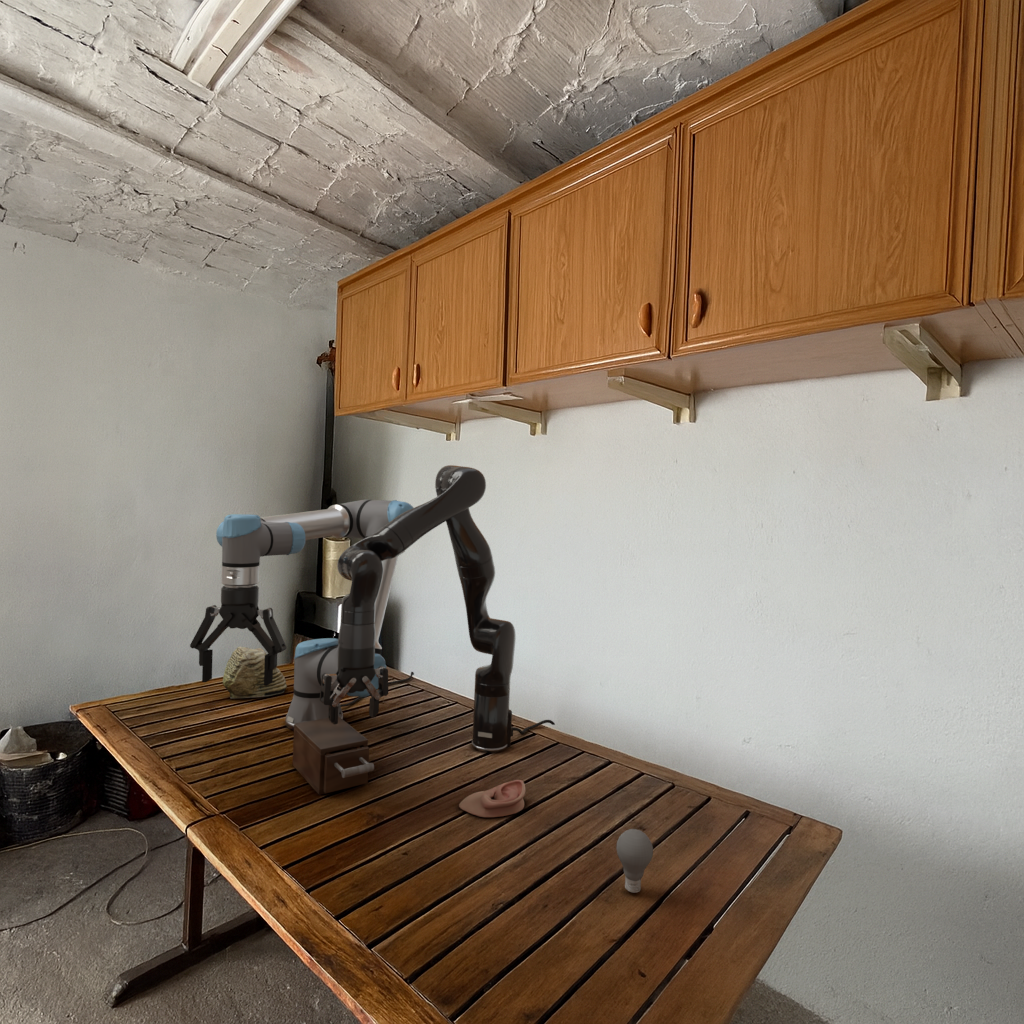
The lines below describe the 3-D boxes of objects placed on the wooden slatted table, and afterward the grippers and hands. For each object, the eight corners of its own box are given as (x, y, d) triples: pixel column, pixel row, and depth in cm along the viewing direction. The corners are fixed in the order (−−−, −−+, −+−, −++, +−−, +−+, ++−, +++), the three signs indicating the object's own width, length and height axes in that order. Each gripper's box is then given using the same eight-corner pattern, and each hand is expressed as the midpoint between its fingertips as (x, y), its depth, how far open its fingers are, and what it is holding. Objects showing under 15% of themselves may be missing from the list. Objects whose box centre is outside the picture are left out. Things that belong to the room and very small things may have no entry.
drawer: (379, 794, 134) (381, 757, 134) (336, 805, 128) (337, 767, 128) (339, 757, 152) (341, 724, 152) (300, 765, 146) (301, 732, 146)
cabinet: (366, 783, 141) (368, 739, 141) (318, 795, 134) (320, 749, 134) (336, 755, 155) (338, 715, 155) (292, 765, 149) (294, 723, 148)
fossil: (218, 695, 195) (220, 647, 195) (278, 685, 208) (279, 640, 207) (228, 703, 189) (230, 653, 188) (289, 692, 201) (290, 645, 201)
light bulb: (610, 879, 108) (613, 822, 108) (644, 879, 109) (647, 822, 109) (619, 902, 102) (622, 840, 102) (655, 901, 103) (658, 840, 103)
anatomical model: (455, 794, 129) (470, 770, 140) (454, 813, 129) (469, 788, 140) (519, 803, 126) (529, 778, 137) (518, 822, 126) (528, 796, 137)
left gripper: (174, 585, 134) (171, 684, 135) (290, 590, 133) (287, 690, 134) (193, 580, 142) (191, 674, 142) (303, 585, 141) (300, 679, 141)
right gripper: (330, 650, 126) (327, 731, 126) (395, 643, 134) (392, 719, 135) (317, 643, 132) (314, 720, 132) (380, 636, 141) (377, 709, 141)
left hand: (237, 682), depth 138 cm, fingers open, 13 cm apart
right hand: (353, 719), depth 134 cm, fingers open, 8 cm apart
